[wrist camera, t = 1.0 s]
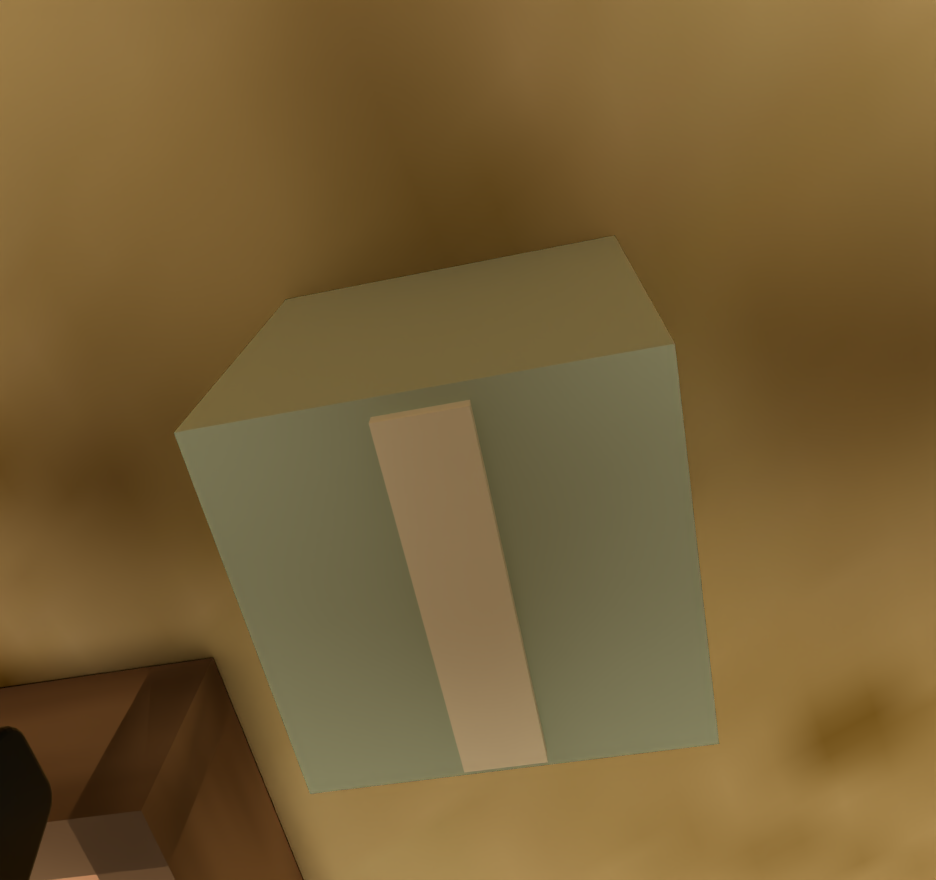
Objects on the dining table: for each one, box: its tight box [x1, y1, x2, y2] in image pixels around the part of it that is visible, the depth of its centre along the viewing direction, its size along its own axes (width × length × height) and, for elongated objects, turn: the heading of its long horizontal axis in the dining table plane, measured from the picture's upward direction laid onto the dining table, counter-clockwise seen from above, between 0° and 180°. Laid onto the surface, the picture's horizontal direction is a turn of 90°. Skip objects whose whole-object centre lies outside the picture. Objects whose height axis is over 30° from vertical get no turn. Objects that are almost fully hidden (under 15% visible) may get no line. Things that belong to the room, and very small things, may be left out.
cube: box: [174, 235, 719, 794], centre depth 12 cm, size 5×5×5 cm
